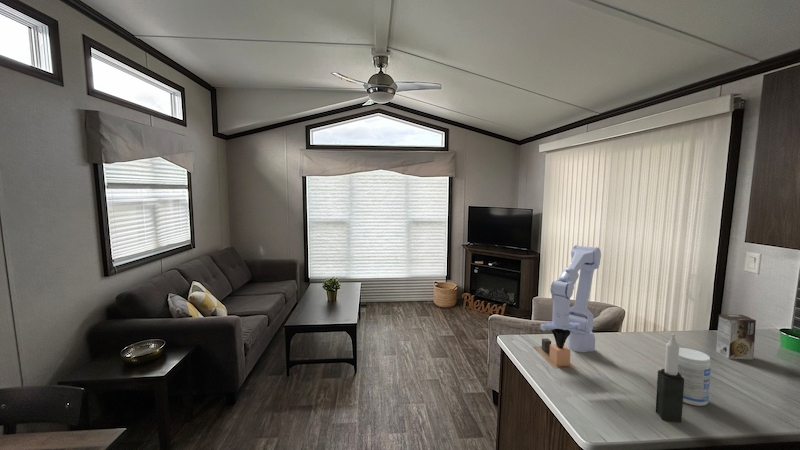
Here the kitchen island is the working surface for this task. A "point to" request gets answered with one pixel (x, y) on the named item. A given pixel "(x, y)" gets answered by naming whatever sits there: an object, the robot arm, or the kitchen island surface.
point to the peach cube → (559, 355)
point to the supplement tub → (694, 376)
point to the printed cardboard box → (736, 336)
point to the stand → (548, 353)
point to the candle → (670, 386)
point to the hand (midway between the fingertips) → (559, 347)
